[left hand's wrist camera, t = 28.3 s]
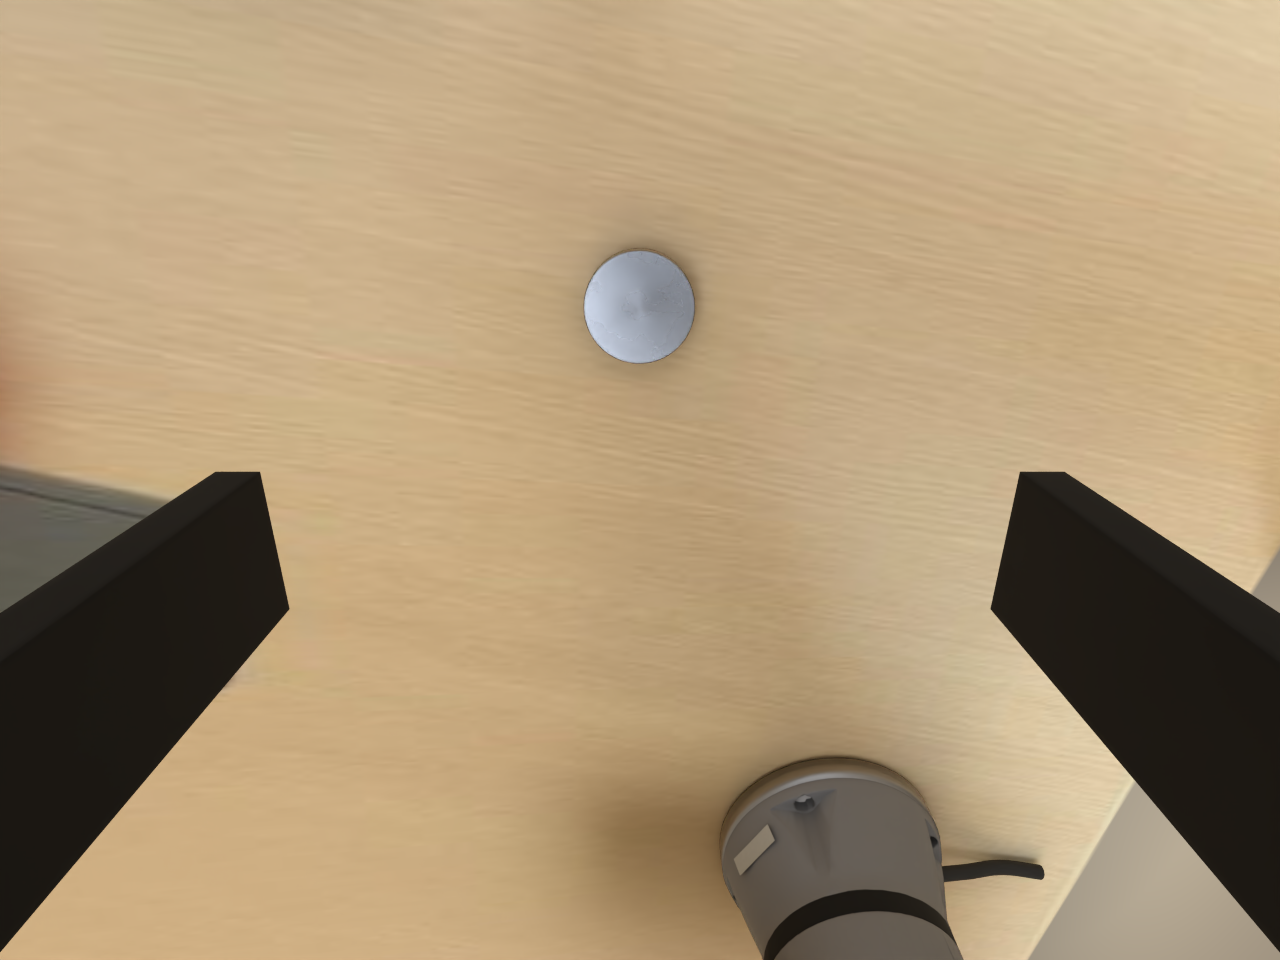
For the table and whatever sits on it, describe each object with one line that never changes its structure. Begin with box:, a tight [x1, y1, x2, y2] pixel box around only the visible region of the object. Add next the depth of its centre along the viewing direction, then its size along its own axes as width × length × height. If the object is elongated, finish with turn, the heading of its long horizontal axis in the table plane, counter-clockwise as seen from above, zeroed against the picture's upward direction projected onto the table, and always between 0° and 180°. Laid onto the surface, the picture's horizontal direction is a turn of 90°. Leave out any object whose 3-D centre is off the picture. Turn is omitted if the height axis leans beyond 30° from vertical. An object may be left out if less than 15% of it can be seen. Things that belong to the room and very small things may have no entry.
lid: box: [584, 248, 695, 364], centre depth 37 cm, size 6×6×2 cm
